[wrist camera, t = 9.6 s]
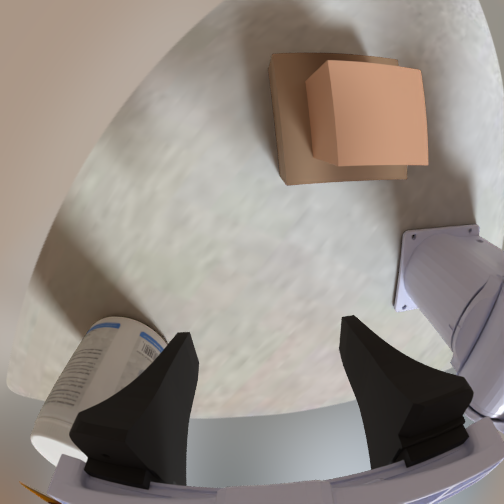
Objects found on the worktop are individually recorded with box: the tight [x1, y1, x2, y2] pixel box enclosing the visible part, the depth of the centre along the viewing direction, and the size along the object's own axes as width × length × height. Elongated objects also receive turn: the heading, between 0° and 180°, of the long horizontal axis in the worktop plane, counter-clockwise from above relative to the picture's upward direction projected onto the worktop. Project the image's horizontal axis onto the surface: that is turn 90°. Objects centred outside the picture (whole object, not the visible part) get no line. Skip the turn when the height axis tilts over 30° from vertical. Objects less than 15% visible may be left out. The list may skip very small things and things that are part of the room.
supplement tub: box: [30, 317, 167, 467], centre depth 20 cm, size 10×10×15 cm
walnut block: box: [268, 53, 407, 186], centre depth 17 cm, size 8×8×4 cm
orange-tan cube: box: [305, 60, 428, 166], centre depth 12 cm, size 5×5×5 cm
